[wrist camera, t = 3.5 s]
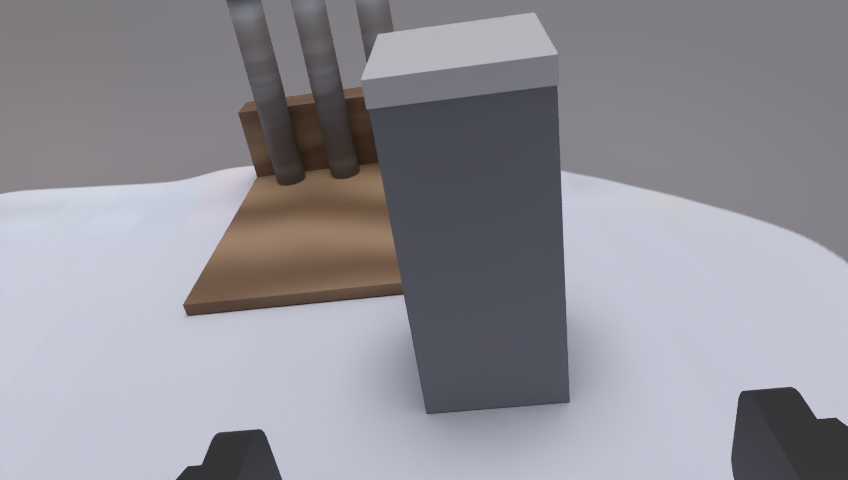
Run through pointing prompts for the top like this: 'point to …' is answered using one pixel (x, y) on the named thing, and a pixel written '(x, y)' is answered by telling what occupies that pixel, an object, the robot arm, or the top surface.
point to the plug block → (475, 206)
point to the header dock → (304, 179)
